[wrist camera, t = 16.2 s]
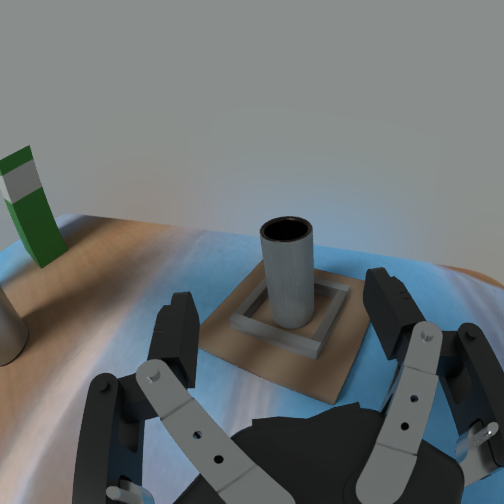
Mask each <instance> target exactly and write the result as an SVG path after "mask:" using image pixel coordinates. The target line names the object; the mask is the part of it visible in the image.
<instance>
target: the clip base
mask: <svg viewBox="0 0 504 504" xmlns="http://www.w3.org/2000/svg"><path fill="white" fill-rule="evenodd" d="M364 284H365V281H363V280H359V279H355V278H351V277H347V276H343V275H339V274H334V273H330V272H326V271H322V270H318V269H314V314H313V317H312V319H311V321H310V322H309V323H307V324H306V325H304V326H302V327H299V328H294V329H288V328H283V327H281V326H279V325H277V324H276V323H275V322H274V321H273V319H272V316H271V311H270V303H269V296H268V289H267V282H266V274H265V267H264V260H262V261H261V262H260V263H259V264H258V265H257V266H256V267H255V268H254V269H253V270H252V272H251V273H250V274H249V275H248V276H247V277H246V278H245V279H244V280H243V281H242V282H241V283H240V284H239V285H238V286H237V288H236V289H235V290H234V291H233V292H232V293H231V294H230V295H229V296H228V297H227V298H226V299H225V300H224V301H223V302H222V303H221V304H220V306H219V307H218V308H217V309H216V310H215V311H214V312H213V313H212V314H211V315H210V316H209V317H208V318H207V319H206V320H205V321H204V322H203V323H202V324H201V326H200V331H199V342H198V347H199V348H201V349H202V350H204V351H206V352H208V353H210V354H212V355H214V356H216V357H219V358H221V359H223V360H225V361H227V362H229V363H231V364H233V365H235V366H237V367H240V368H242V369H244V370H246V371H248V372H251V373H253V374H255V375H257V376H260V377H262V378H264V379H267V380H269V381H271V382H274V383H276V384H279V385H281V386H283V387H286V388H288V389H291V390H293V391H296V392H299V393H301V394H304V395H306V396H309V397H312V398H314V399H317V400H320V401H323V402H326V403H328V404H331V405H334V404H335V402H336V400H337V398H338V396H339V394H340V392H341V390H342V388H343V385H344V383H345V381H346V379H347V377H348V374H349V372H350V370H351V368H352V365H353V363H354V361H355V358H356V356H357V353H358V351H359V349H360V346H361V344H362V341H363V339H364V336H365V333H366V331H367V328H368V326H369V323H370V318H369V316H368V314H367V312H366V309H365V307H364V304H363V290H364Z"/></svg>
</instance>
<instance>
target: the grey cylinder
mask: <svg viewBox="0 0 504 504" xmlns="http://www.w3.org/2000/svg"><path fill="white" fill-rule="evenodd" d="M260 239H261V246H262V253H263V260H264V267H265V274H266V282H267V289H268V296H269V303H270V311H271V316H272V319H273V321H274V322H275V323H276V324H277V325H279V326H281V327H283V328H288V329H294V328H299V327H302V326H304V325H306V324H307V323H309V322H310V321H311V319H312V317H313V314H314V258H313V228H312V225H311V224H310V223H309V222H308V221H307V220H305V219H302V218H300V217H293V216H286V217H279V218H275V219H272V220H270V221H268V222H266V223H265V224H264V225H263V226H262V227H261V229H260Z"/></svg>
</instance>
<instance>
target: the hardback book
mask: <svg viewBox="0 0 504 504" xmlns="http://www.w3.org/2000/svg"><path fill="white" fill-rule="evenodd" d="M0 188H1V191H2V194H3V197H4V199H5V202H6V205H7V207H8V210H9V212H10V215H11V217H12V220H13V222H14V224H15V227H16V229H17V231H18V233H19V236H20V238H21V240H22V242H23V245H24V247H25V249H26V251H27V252H28V253H29V254H30V256H31V257H32V258H33V259H34V260H35V262H36V263H37V264H38V265H39V266H40V268H41V269H42V268H43V267H44V266H46V265H47V264H48V263H50V262H51V261H53V260H54V259H56V258H57V257H58V256H60V255H61V254H63V253H64V252H66V251H67V248H66V246H65V243H64V241H63V239H62V237H61V234H60V232H59V229H58V227H57V225H56V222H55V220H54V217H53V215H52V212H51V210H50V207H49V204H48V202H47V199H46V196H45V193H44V191H43V188H42V185H41V182H40V179H39V176H38V173H37V169H36V166H35V163H34V159H33V156H32V152H31V149H30V146H27V147H25V148H23V149H21V150H19V151H17V152H15V153H13V154H11V155H9V156H7V157H6V158H4V159H2V160H0Z"/></svg>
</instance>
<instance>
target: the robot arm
mask: <svg viewBox="0 0 504 504" xmlns="http://www.w3.org/2000/svg"><path fill="white" fill-rule="evenodd" d="M363 304H364V307H365V309H366V312H367V314H368V316H369V318H370V320H371V322H372V325H373V327H374V329H375V331H376V334H377V336H378V338H379V341H380V343H381V345H382V348H383V350H384V352H385V355H386V357H387V359H388V361H389V360H393V359H397V362H398V364H397V366H396V369H395V372H394V375H393V378H392V381H391V383H390V386H389V389H388V391H387V394H386V397H385V399H384V401H383V403H382V405H381V407H380V409H379V411H376V410H372V409H366V408H360V405H359V402H356V403H352V404H347V405H343V406H338V407H334V408H331V409H329V410H327V411H325V412H322V413H320V414H318V415H316V416H313V417H311V418H307V419H304V418H290V417H270V418H261V419H252V426H250V427H247V428H245V429H242V430H241V431H239V432H237V433H236V434H234V435H233V436H232V437H230V438H229V437H228V436H227V434H226V433H225V432H224V431H223V430H222V429H221V428H220V427H219V426H218V425H217V424H216V422H215V421H214V420H213V419H212V418H211V417H210V416H209V415H208V413H207V412H206V411H205V410H204V409H203V408H202V406H201V405H200V404H199V403H198V402H197V401H196V400H195V399H194V398H193V397H192V396H191V395H190V394H189V393H188V391H187V388H195V380H196V367H197V354H198V342H199V331H200V322H199V316H198V313H197V310H196V307H195V304H194V301H193V298H192V295H191V293H190V292H181V293H174V294H173V296H172V300H171V305H164V306H163V307H162V309H161V310H160V311H159V313H158V314H157V318H156V323H155V324H156V325H155V327H154V333H153V336H152V340H151V345H150V349H149V354H148V358H147V361H146V362H144V363H143V364H142V365H141V366H140V367H139V368H138V370H137V372H136V373H134V374H132V375H129V376H125V377H122V378H118V379H117V378H116V377H115V376H114V375H113V374H110V373H102V374H99V375H97V376H96V377H95V378H94V379H93V380H92V381H91V383H90V386H89V390H88V395H87V399H86V404H85V409H84V414H83V419H82V424H81V430H80V436H79V442H78V449H77V456H76V464H75V473H74V483H73V495H72V504H155V502H154V498H153V496H152V494H151V493H150V492H149V491H148V490H147V489H145V488H143V487H142V462H143V441H144V426H145V420H147V419H151V418H155V417H158V416H159V417H160V420H161V422H162V423H163V425H164V426H165V428H166V429H167V431H168V432H169V434H170V435H171V436H172V438H173V439H174V440H175V442H176V443H177V444H178V446H179V447H180V448H181V450H182V451H183V452H184V454H185V455H186V456H187V457H188V459H189V460H190V461H191V462H192V464H193V465H194V466H195V467H196V469H197V470H198V471H199V472H200V474H199V475H198V476H197V477H196V478H195V480H194V481H193V482H192V483H191V484H190V485H189V486H188V487H187V489H186V490H185V491H184V492H183V493H182V494H181V495H180V496H179V497H178V498H177V500H176V501H175V502H174V503H173V504H461V498H462V494H463V490H464V487H466V486H468V485H470V484H472V483H474V482H476V481H478V480H482V479H484V478H486V477H488V476H490V475H492V474H494V473H496V472H498V471H500V470H502V469H504V372H503V370H502V367H501V365H500V363H499V361H498V360H497V358H496V356H495V354H494V352H493V350H492V348H491V346H490V344H489V343H488V341H487V339H486V337H485V335H484V334H483V332H482V330H481V329H480V328H479V327H478V326H477V325H475V324H473V323H463V324H462V325H461V326H460V327H459V329H458V331H441V329H440V328H439V327H438V326H437V325H436V324H434V323H432V322H428V321H426V320H425V318H424V316H423V315H422V313H421V311H420V310H419V308H418V306H417V305H416V303H415V301H414V300H413V298H412V297H411V295H410V293H409V292H408V290H407V289H406V287H405V286H404V284H403V283H402V282H401V281H400V280H398V279H397V278H396V277H395V276H393V277H390V276H389V274H388V273H387V271H386V270H385V268H383V267H380V268H374V269H368V270H367V273H366V278H365V284H364V290H363ZM27 337H28V328H27V326H26V325H25V323H24V322H23V320H22V319H21V318H20V316H19V315H18V313H17V312H16V310H15V309H14V307H13V305H12V304H11V302H10V301H9V299H8V298H7V296H6V294H5V293H4V291H3V289H2V288H1V286H0V366H2V365H5V364H7V363H9V362H10V361H12V360H13V359H14V358H15V357H16V356H17V355H18V354H19V353H20V351H21V350H22V349H23V347H24V345H25V343H26V341H27ZM466 369H467V370H466ZM438 377H439V380H440V382H441V385H442V388H443V390H444V393H445V396H446V398H447V401H448V404H449V407H450V409H451V412H452V415H453V418H454V421H455V424H456V427H457V430H458V434H459V438H458V440H457V442H456V450H455V456H456V459H453V458H452V457H450V456H448V455H447V454H445V453H444V452H442V451H440V450H439V449H437V448H436V447H434V446H432V445H431V444H429V443H428V442H426V441H425V440H423V439H422V437H423V434H424V431H425V427H426V424H427V421H428V418H429V414H430V411H431V407H432V404H433V400H434V396H435V392H436V388H437V383H438ZM470 378H471V379H470Z"/></svg>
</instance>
